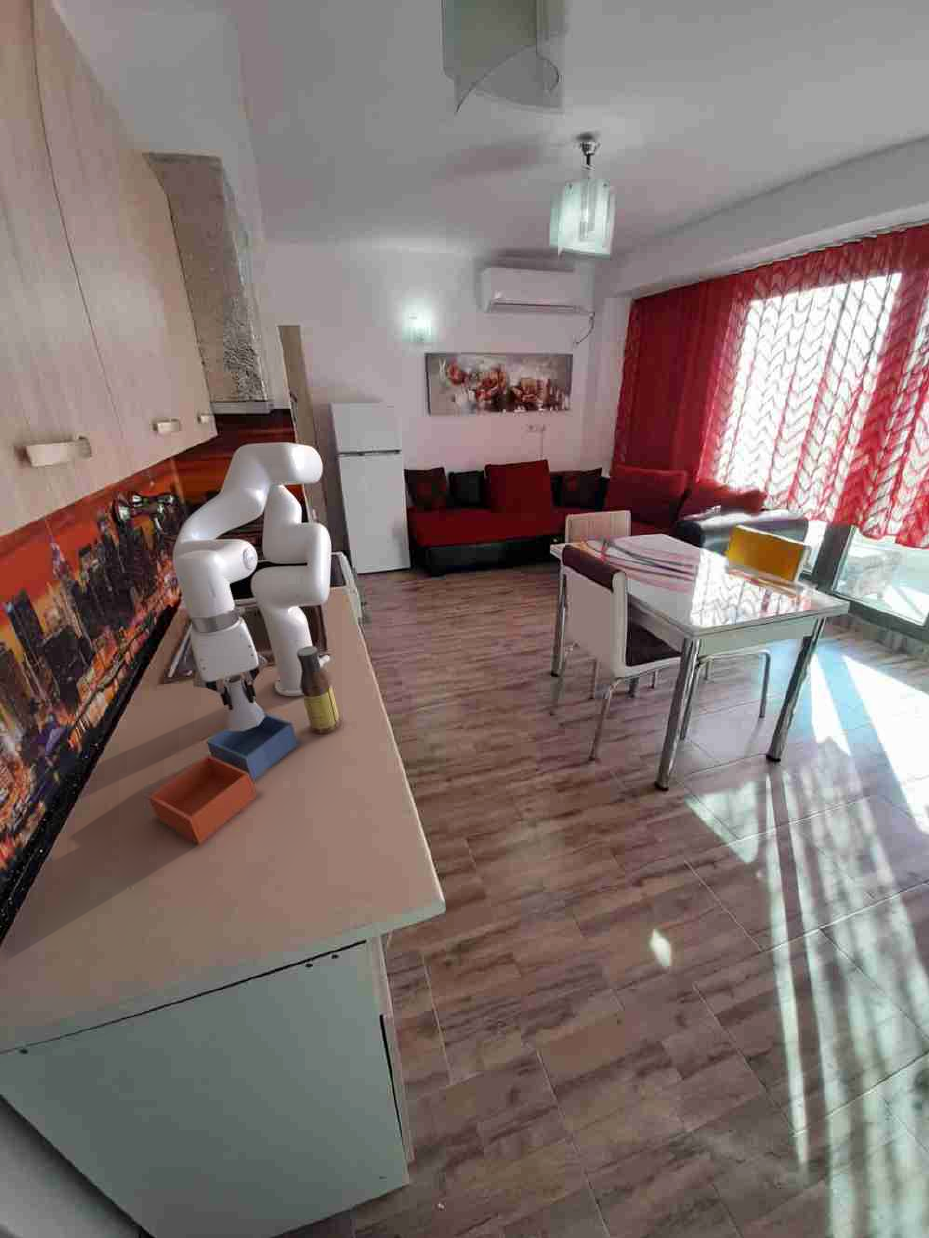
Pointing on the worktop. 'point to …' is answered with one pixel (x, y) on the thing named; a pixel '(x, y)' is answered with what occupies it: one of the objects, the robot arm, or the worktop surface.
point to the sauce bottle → (317, 692)
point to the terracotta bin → (203, 798)
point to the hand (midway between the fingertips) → (240, 702)
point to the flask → (241, 707)
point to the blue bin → (254, 745)
